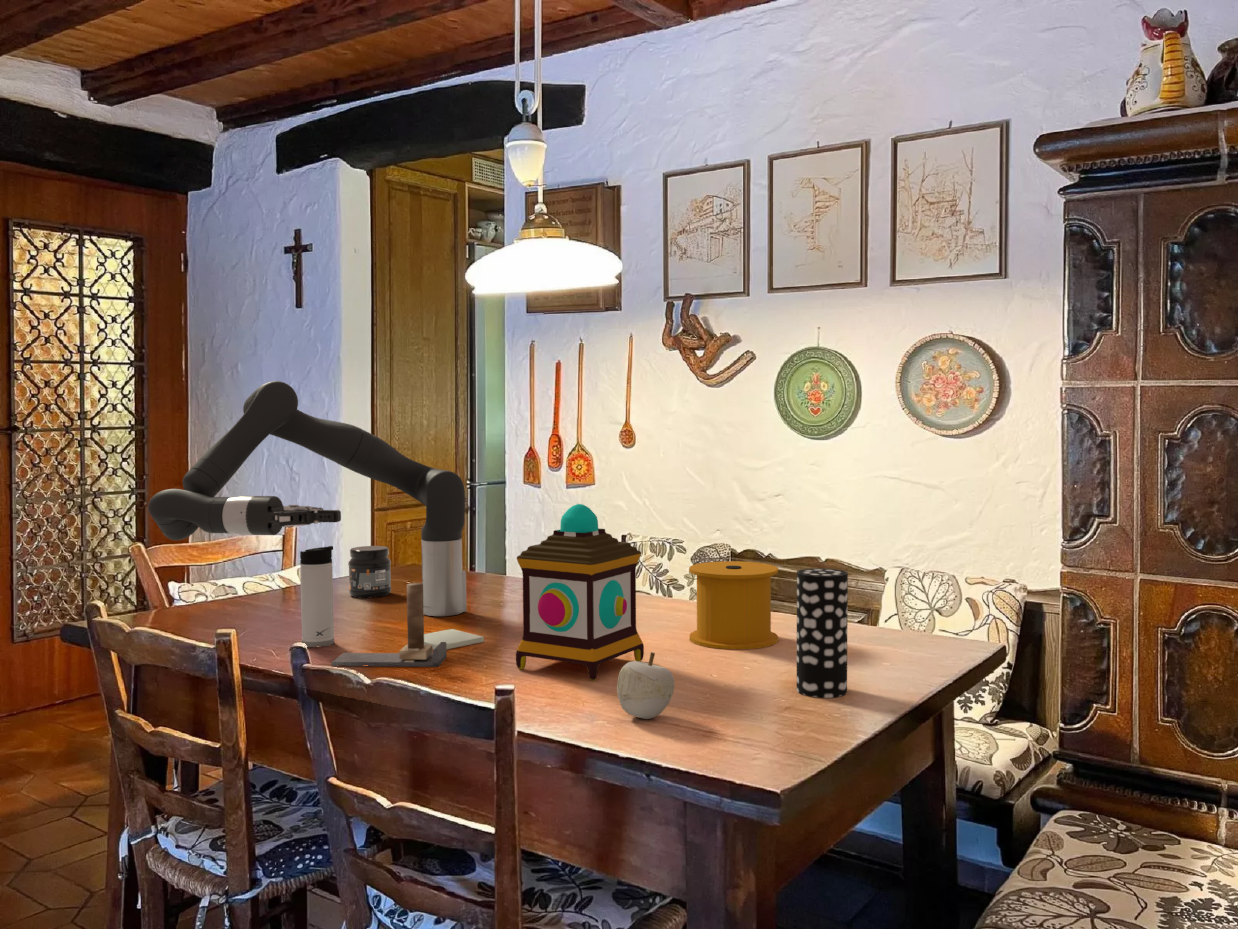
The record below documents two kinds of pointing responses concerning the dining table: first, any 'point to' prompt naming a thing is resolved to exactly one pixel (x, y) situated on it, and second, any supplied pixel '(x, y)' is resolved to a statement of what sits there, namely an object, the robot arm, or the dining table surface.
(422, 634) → the post
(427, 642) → the pad
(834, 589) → the spotted tube
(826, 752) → the dining table surface
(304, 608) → the travel mug
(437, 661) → the rail
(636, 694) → the decorative object
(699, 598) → the spool
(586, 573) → the decorative lantern
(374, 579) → the supplement container
